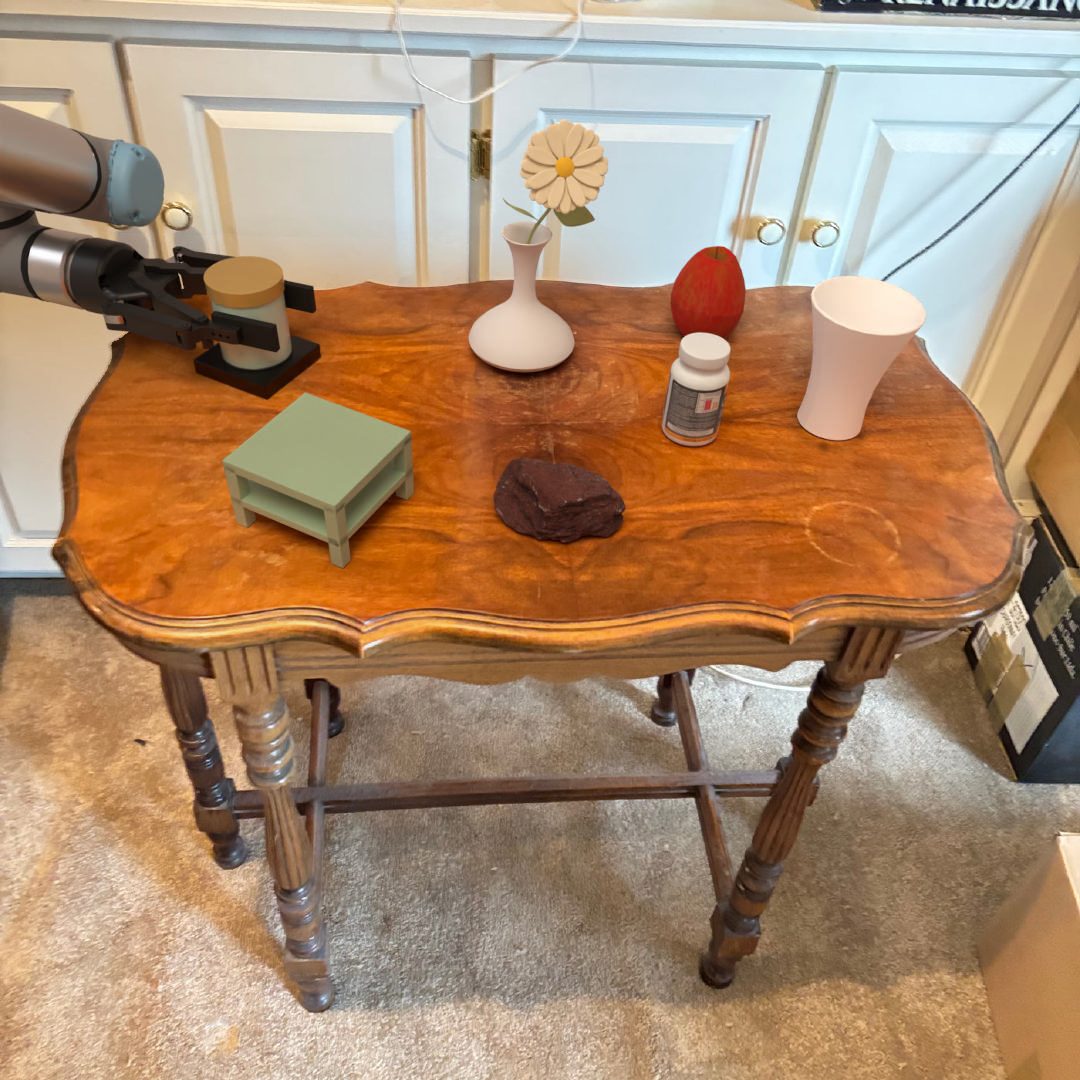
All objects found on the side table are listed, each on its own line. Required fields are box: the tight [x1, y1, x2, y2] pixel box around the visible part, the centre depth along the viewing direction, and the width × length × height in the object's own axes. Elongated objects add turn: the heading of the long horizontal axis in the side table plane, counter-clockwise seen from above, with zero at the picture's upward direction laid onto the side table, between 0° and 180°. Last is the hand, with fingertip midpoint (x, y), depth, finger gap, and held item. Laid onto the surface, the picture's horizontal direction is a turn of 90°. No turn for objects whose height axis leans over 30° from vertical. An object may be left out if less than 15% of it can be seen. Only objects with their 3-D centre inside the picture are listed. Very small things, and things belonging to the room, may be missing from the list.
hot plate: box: [192, 333, 322, 400], centre depth 97 cm, size 9×9×2 cm
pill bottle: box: [661, 333, 732, 447], centre depth 90 cm, size 6×6×10 cm
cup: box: [796, 275, 927, 441], centre depth 91 cm, size 10×10×14 cm
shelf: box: [221, 392, 415, 569], centre depth 80 cm, size 11×11×7 cm
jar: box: [204, 255, 292, 369], centre depth 93 cm, size 7×7×8 cm
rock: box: [492, 457, 627, 543], centre depth 82 cm, size 11×6×8 cm
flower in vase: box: [468, 118, 609, 373], centre depth 93 cm, size 13×11×25 cm
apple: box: [670, 245, 747, 340], centre depth 103 cm, size 8×8×11 cm
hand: (295, 318), depth 92 cm, fingers closed on jar, 7 cm apart
